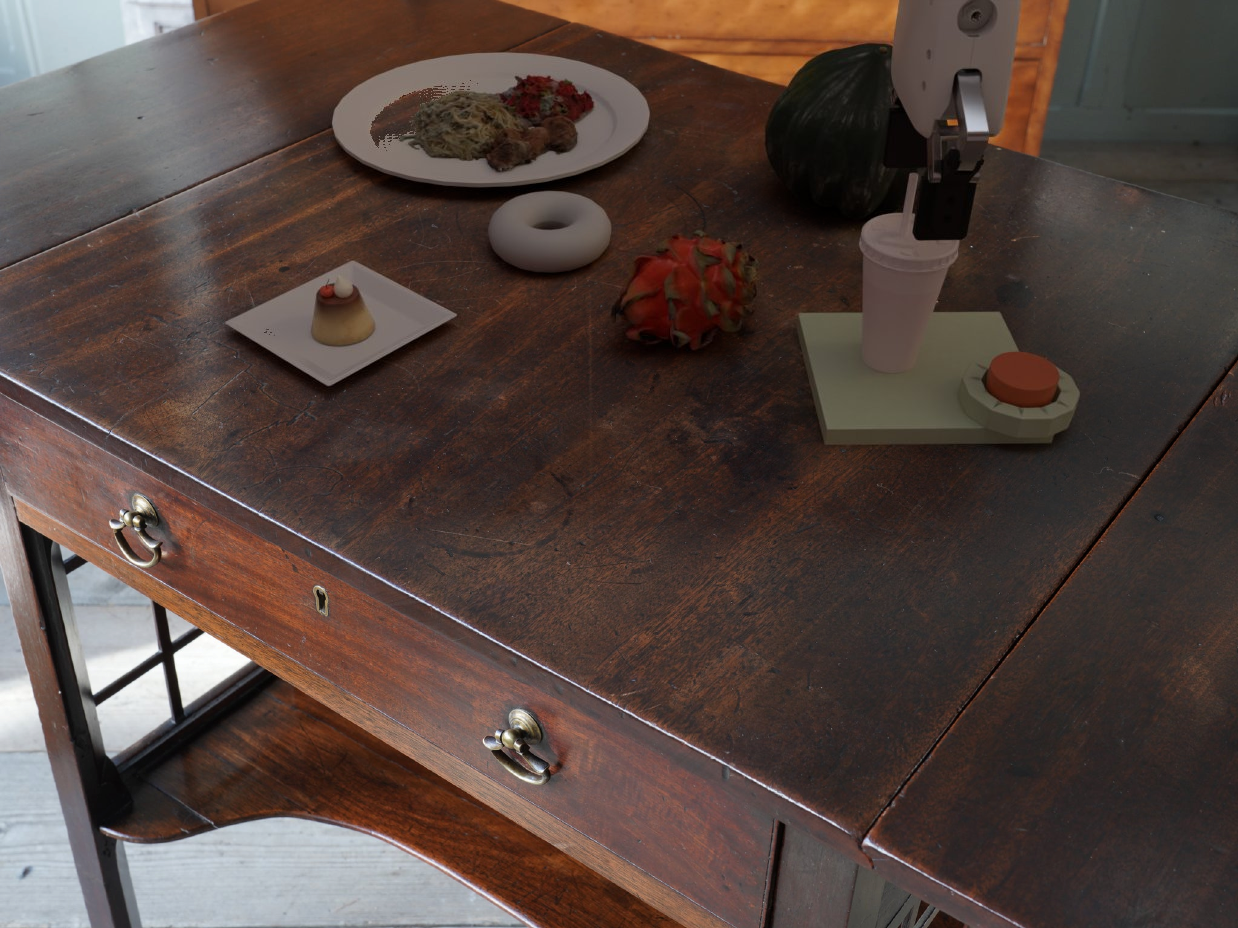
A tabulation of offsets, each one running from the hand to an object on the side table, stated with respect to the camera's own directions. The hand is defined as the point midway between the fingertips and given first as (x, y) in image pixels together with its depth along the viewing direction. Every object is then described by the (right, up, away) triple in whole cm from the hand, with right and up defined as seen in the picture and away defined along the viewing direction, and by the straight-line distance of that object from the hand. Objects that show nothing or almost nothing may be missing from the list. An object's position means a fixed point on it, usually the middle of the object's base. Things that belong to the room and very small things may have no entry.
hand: (921, 200), depth 77 cm
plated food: (-31, +15, +40) cm, 53 cm away
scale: (+2, -11, +8) cm, 14 cm away
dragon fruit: (-15, -8, +12) cm, 20 cm away
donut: (-25, +1, +22) cm, 33 cm away
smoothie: (0, -9, +8) cm, 12 cm away
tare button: (+7, -12, +3) cm, 14 cm away
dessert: (-40, -7, +13) cm, 42 cm away
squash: (+1, +7, +30) cm, 30 cm away
